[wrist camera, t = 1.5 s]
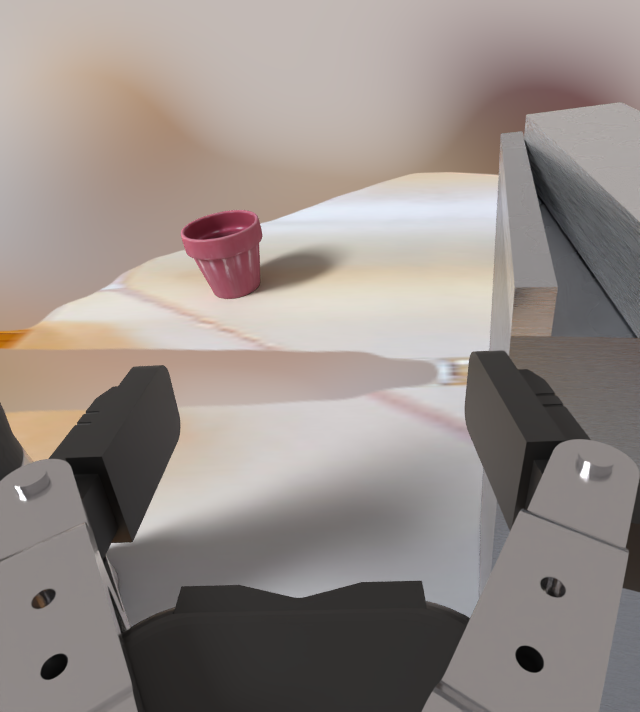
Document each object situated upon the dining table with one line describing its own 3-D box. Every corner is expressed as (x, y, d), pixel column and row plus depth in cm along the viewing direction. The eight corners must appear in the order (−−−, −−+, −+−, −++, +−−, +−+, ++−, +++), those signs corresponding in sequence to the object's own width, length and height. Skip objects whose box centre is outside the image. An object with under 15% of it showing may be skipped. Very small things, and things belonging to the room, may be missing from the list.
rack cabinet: (480, 525, 44) (500, 133, 24) (677, 551, 39) (898, 91, 20) (477, 734, 32) (514, 287, 12) (763, 809, 27) (1561, 274, 8)
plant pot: (288, 280, 91) (274, 215, 84) (228, 314, 84) (207, 246, 77) (245, 264, 100) (228, 204, 93) (188, 293, 93) (165, 231, 86)
